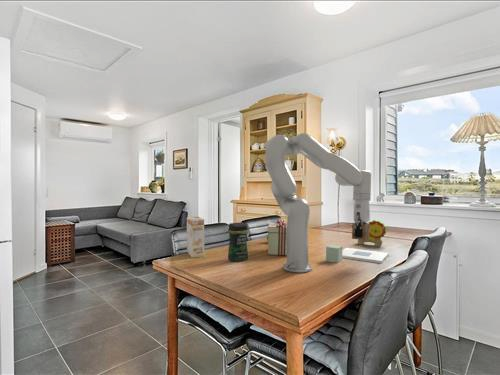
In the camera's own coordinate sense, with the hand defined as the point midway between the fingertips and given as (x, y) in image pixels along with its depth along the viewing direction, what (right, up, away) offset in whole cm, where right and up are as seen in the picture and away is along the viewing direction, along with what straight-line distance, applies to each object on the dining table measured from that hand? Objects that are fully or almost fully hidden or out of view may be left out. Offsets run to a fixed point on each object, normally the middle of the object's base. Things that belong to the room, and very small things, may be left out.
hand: (360, 235), depth 133 cm
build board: (+7, -13, +16) cm, 22 cm away
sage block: (-10, -13, +8) cm, 18 cm away
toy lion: (+23, -13, +41) cm, 49 cm away
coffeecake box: (-80, -14, +23) cm, 85 cm away
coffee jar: (-57, -14, +11) cm, 59 cm away
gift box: (-32, -13, +26) cm, 44 cm away
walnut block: (0, -1, 0) cm, 1 cm away
